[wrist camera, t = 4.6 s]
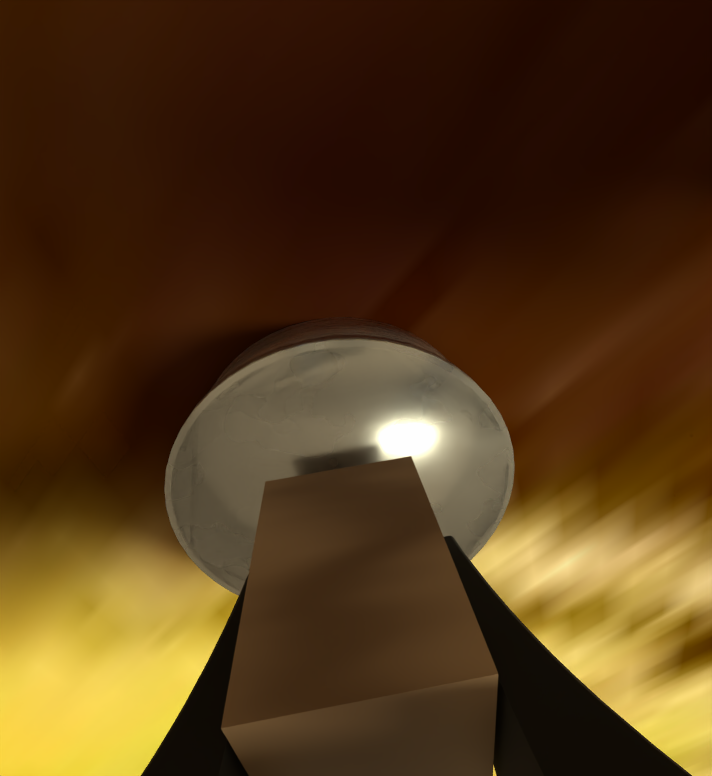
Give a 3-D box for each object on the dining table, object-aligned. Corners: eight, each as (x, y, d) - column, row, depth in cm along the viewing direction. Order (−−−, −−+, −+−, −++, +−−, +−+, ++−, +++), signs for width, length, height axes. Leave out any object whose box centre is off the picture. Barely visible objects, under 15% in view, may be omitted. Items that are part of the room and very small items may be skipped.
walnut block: (411, 455, 11) (498, 674, 6) (420, 557, 13) (491, 791, 8) (265, 481, 11) (221, 728, 6) (295, 580, 13) (283, 834, 8)
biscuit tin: (489, 297, 14) (539, 322, 11) (466, 532, 20) (495, 593, 17) (156, 325, 13) (109, 360, 10) (228, 562, 19) (211, 633, 16)
